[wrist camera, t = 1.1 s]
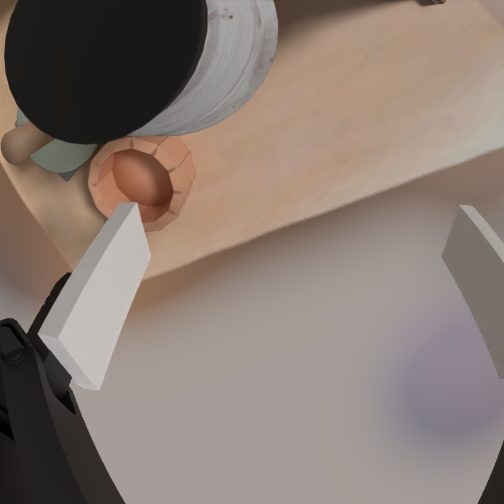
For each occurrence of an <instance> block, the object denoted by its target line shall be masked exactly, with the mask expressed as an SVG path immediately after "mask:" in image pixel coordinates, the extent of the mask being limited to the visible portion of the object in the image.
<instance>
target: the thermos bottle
mask: <svg viewBox="0 0 504 504" xmlns="http://www.w3.org/2000/svg"><path fill="white" fill-rule="evenodd" d="M277 43H278V19H277V14H276V9H275V4H274V2H273V0H18V2H17V4H16V6H15V8H14V11H13V13H12V16H11V18H10V22H9V26H8V30H7V34H6V39H5V51H4V60H5V71H6V76H7V80H8V84H9V88H10V91H11V93H12V95H13V97H14V99H15V102H16V104H17V106H18V107H19V108H20V110H21V111H22V112H23V114H24V115H25V117H26V118H27V119H28V120H29V121H30V122H31V123H32V124H33V125H35V126H36V127H37V128H38V129H39V130H41V131H42V132H44V133H46V134H47V135H49V136H51V137H52V138H55V139H58V140H61V141H64V142H67V143H73V144H82V145H90V144H100V143H106V142H109V141H113V140H116V139H119V138H122V137H125V136H127V135H128V136H136V137H140V136H179V135H184V134H188V133H193V132H198V131H200V130H203V129H205V128H208V127H210V126H213V125H215V124H217V123H219V122H221V121H222V120H224V119H225V118H227V117H229V116H230V115H232V114H233V113H235V112H236V111H237V110H238V109H239V108H240V107H241V106H243V105H244V104H245V103H246V102H247V101H248V100H249V99H250V98H251V97H252V96H253V94H254V93H255V92H256V90H257V89H258V88H259V86H260V85H261V84H262V83H263V81H264V79H265V77H266V75H267V73H268V71H269V69H270V67H271V65H272V63H273V59H274V55H275V51H276V47H277Z"/></svg>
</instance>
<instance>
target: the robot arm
mask: <svg viewBox="0 0 504 504" xmlns="http://www.w3.org/2000/svg"><path fill="white" fill-rule="evenodd" d="M442 258H443V260H444V262H445V264H446V265H447V267H448V269H449V271H450V272H451V274H452V276H453V278H454V279H455V282H456V283H457V285H458V287H459V289H460V291H461V293H462V295H463V297H464V299H465V301H466V303H467V305H468V307H469V309H470V311H471V313H472V315H473V317H474V319H475V321H476V323H477V325H478V328H479V330H480V332H481V334H482V337H483V339H484V341H485V343H486V346H487V348H488V350H489V353H490V355H491V358H492V360H493V363H494V365H495V367H496V370H497V373H498V375H499V378H500V379H502V378H504V244H503V243H502V241H501V240H500V239H499V237H498V236H497V235H496V234H495V232H494V231H493V230H492V229H491V227H489V225H488V224H487V223H486V221H485V220H484V219H483V218H482V217H481V216H480V214H479V213H478V212H477V211H476V210H475V209H474V207H473V206H468V205H459V207H458V210H457V213H456V216H455V219H454V222H453V225H452V228H451V231H450V235H449V238H448V240H447V243H446V246H445V248H444V251H443V254H442ZM150 259H151V254H150V250H149V247H148V243H147V239H146V236H145V232H144V228H143V224H142V221H141V217H140V213H139V209H138V205H137V202H129V203H120V204H119V205H118V206H117V208H116V209H115V211H114V212H113V213H112V215H111V216H110V217H109V219H108V220H107V222H106V223H105V224H104V226H103V227H102V229H101V230H100V232H99V233H98V235H97V236H96V237H95V239H94V240H93V242H92V243H91V245H90V246H89V248H88V249H87V251H86V252H85V254H84V255H83V257H82V258H81V260H80V262H79V263H78V265H77V266H76V268H75V269H74V271H73V273H66V274H65V275H64V276H63V277H62V278H61V279H60V280H59V281H57V283H56V284H55V286H54V288H53V289H52V291H51V292H50V296H48V297H47V299H46V301H45V304H44V305H43V306H42V307H41V309H40V311H39V313H38V314H37V316H36V318H35V320H34V321H33V324H32V325H31V327H30V329H29V331H28V332H27V334H26V333H25V332H24V330H23V329H22V328H21V326H20V325H19V323H18V322H17V321H16V320H14V319H13V318H12V319H11V318H6V319H4V320H1V321H0V504H125V502H124V501H123V499H122V497H121V495H120V494H119V492H118V490H117V488H116V486H115V485H114V483H113V481H112V479H111V478H110V475H109V473H108V472H107V470H106V468H105V466H104V464H103V462H102V460H101V458H100V456H99V453H98V451H97V449H96V447H95V445H94V443H93V440H92V438H91V436H90V434H89V432H88V429H87V427H86V424H85V422H84V420H83V417H82V415H81V412H80V410H79V407H78V404H77V402H76V399H75V396H74V394H73V391H72V390H71V388H70V387H69V384H70V381H71V379H72V378H73V380H74V381H75V382H76V383H77V384H78V385H79V387H82V388H86V389H91V390H96V391H100V388H101V385H102V382H103V379H104V376H105V373H106V370H107V367H108V364H109V361H110V359H111V356H112V353H113V351H114V348H115V345H116V342H117V340H118V337H119V334H120V332H121V329H122V327H123V324H124V321H125V319H126V316H127V314H128V311H129V308H130V306H131V304H132V301H133V299H134V296H135V294H136V292H137V289H138V287H139V284H140V282H141V280H142V277H143V275H144V273H145V270H146V268H147V266H148V264H149V261H150ZM478 504H504V441H503V444H502V447H501V450H500V452H499V455H498V458H497V460H496V463H495V466H494V468H493V471H492V473H491V475H490V478H489V480H488V482H487V485H486V487H485V489H484V491H483V493H482V496H481V498H480V500H479V502H478Z"/></svg>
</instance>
